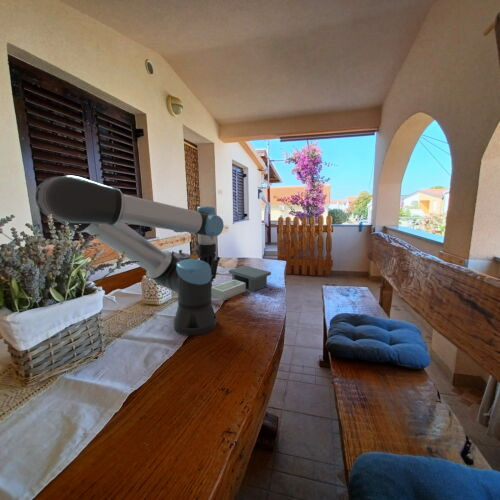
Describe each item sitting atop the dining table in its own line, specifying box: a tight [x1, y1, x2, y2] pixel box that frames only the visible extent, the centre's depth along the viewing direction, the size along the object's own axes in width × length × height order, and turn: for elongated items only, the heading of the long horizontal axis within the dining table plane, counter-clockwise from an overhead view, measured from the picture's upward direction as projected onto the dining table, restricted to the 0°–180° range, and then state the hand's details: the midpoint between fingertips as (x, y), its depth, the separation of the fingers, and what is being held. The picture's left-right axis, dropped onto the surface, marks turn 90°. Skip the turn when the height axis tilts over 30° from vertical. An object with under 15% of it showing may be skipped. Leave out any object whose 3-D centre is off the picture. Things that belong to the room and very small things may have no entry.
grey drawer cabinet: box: [228, 265, 272, 293], centre depth 134 cm, size 13×18×8 cm
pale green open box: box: [211, 279, 247, 301], centre depth 122 cm, size 16×8×4 cm, turn 140°
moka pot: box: [171, 249, 191, 260], centre depth 127 cm, size 10×15×20 cm, turn 53°
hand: (207, 295), depth 113 cm, fingers closed
